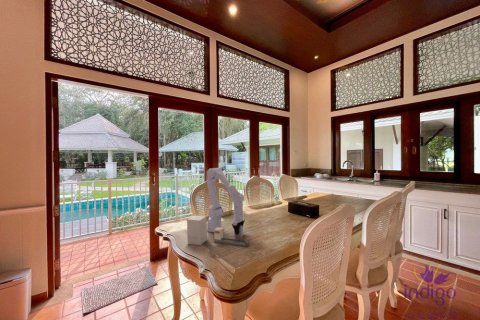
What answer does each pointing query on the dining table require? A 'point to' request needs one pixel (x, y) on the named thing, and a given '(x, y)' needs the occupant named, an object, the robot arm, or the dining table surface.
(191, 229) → the supplement box
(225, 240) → the rail
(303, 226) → the dining table surface
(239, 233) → the block
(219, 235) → the beige rectangular block
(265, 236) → the dining table surface
